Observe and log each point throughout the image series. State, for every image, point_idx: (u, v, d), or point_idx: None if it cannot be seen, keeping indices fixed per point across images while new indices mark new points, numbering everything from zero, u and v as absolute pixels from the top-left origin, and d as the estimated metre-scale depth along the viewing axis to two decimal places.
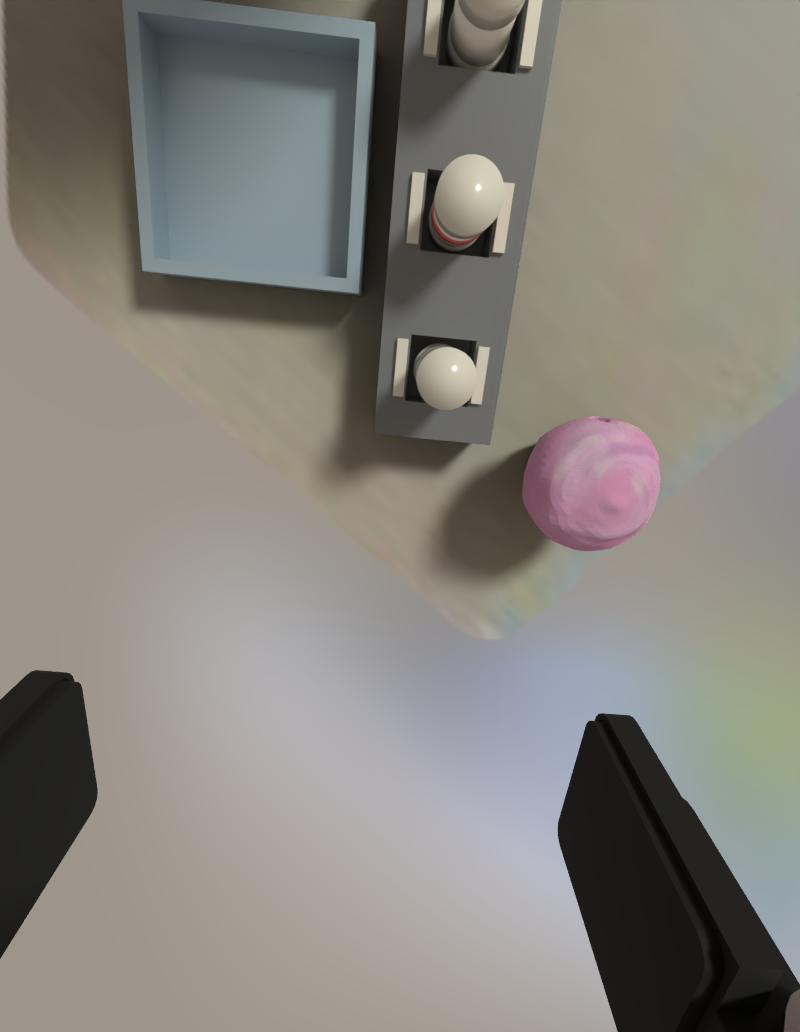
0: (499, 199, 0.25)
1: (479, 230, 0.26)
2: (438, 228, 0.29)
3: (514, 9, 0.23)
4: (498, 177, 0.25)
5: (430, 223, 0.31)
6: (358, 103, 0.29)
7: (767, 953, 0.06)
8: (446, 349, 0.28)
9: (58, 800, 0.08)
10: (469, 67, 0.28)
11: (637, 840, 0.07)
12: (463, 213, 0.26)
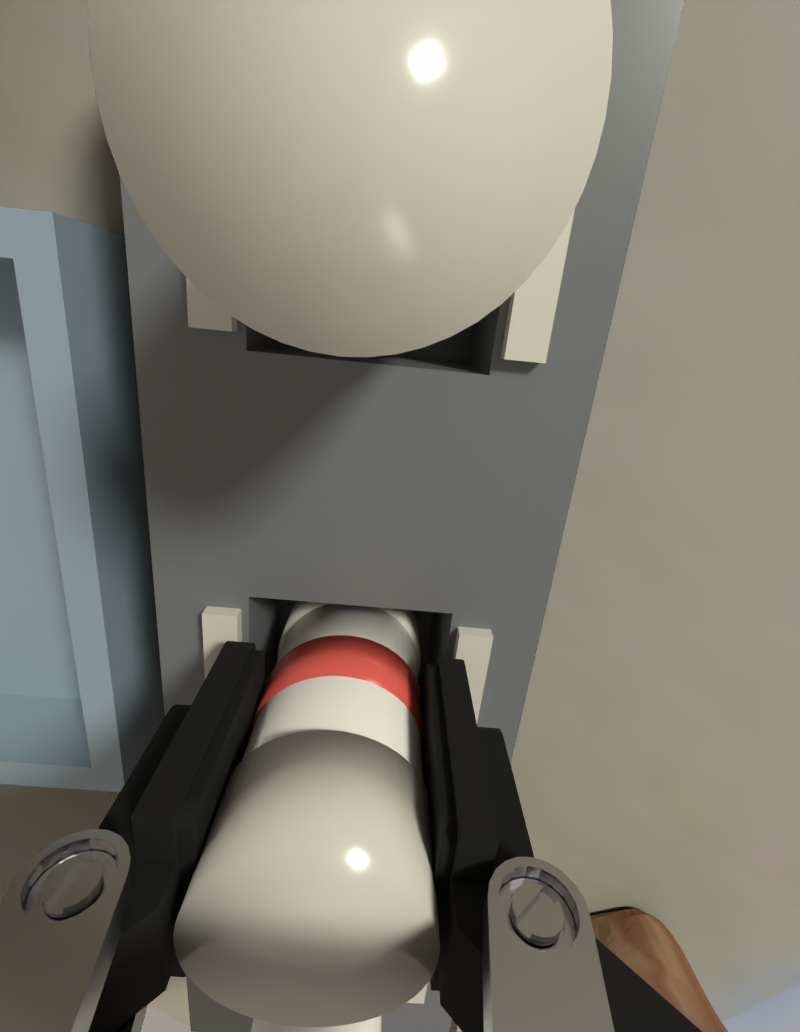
0: (421, 961, 0.07)
1: (354, 1018, 0.07)
2: None
3: None
4: (413, 913, 0.06)
5: None
6: (44, 422, 0.10)
7: (490, 830, 0.07)
8: None
9: None
10: None
11: (432, 755, 0.08)
12: (289, 988, 0.07)
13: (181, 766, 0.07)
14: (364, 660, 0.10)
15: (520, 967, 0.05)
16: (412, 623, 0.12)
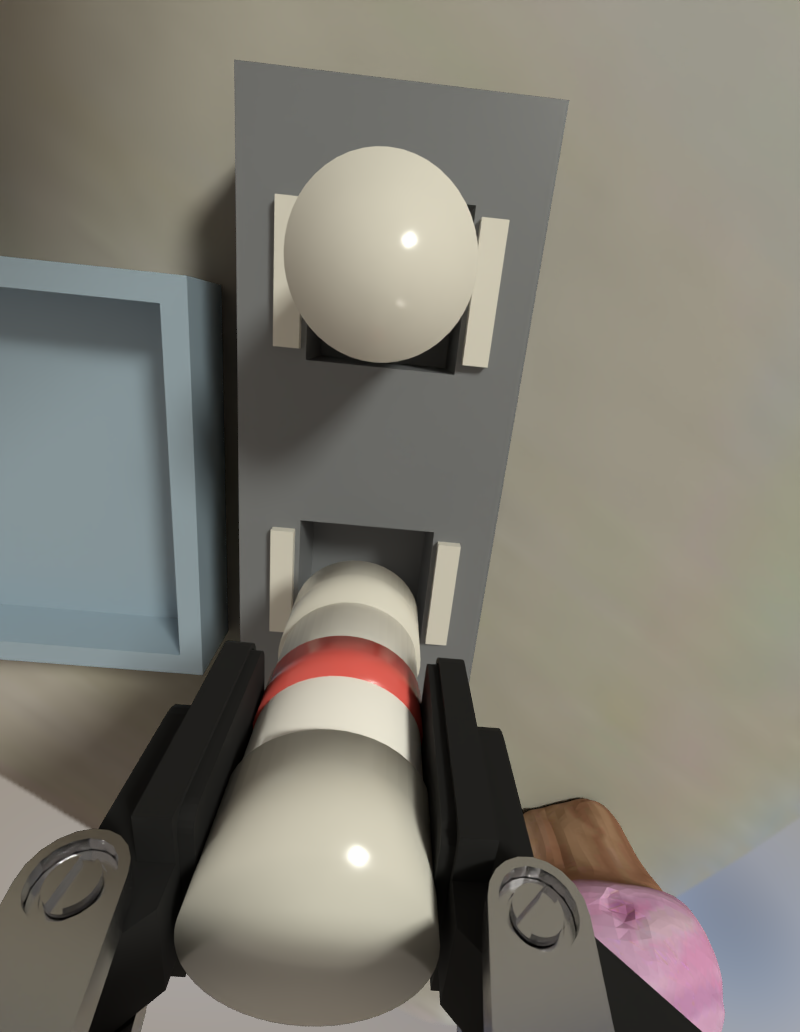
0: (421, 959, 0.07)
1: (354, 1017, 0.07)
2: None
3: None
4: (413, 911, 0.06)
5: None
6: (169, 405, 0.16)
7: (490, 829, 0.07)
8: None
9: None
10: None
11: (432, 755, 0.08)
12: (289, 987, 0.07)
13: (181, 766, 0.07)
14: (364, 661, 0.10)
15: (520, 967, 0.05)
16: (412, 624, 0.12)
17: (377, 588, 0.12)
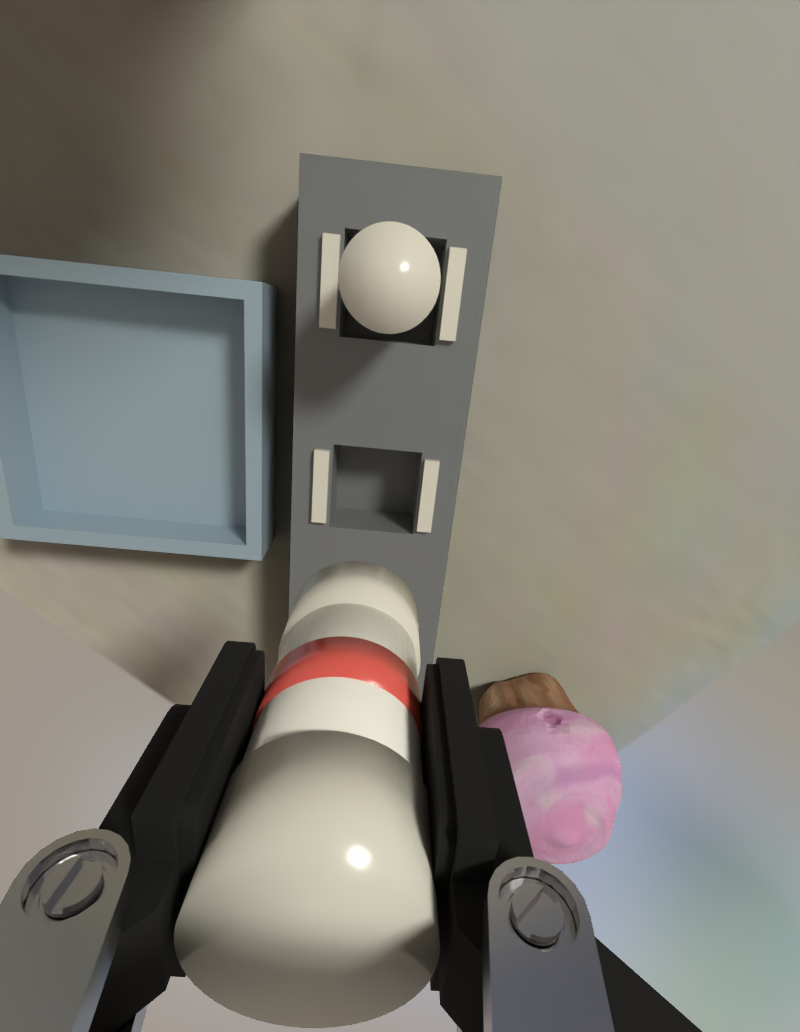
0: (421, 960, 0.07)
1: (354, 1018, 0.07)
2: None
3: None
4: (413, 912, 0.06)
5: None
6: (247, 367, 0.24)
7: (490, 828, 0.07)
8: None
9: None
10: None
11: (432, 755, 0.08)
12: (289, 989, 0.07)
13: (181, 766, 0.07)
14: (364, 661, 0.10)
15: (520, 967, 0.05)
16: (412, 624, 0.12)
17: (377, 589, 0.12)
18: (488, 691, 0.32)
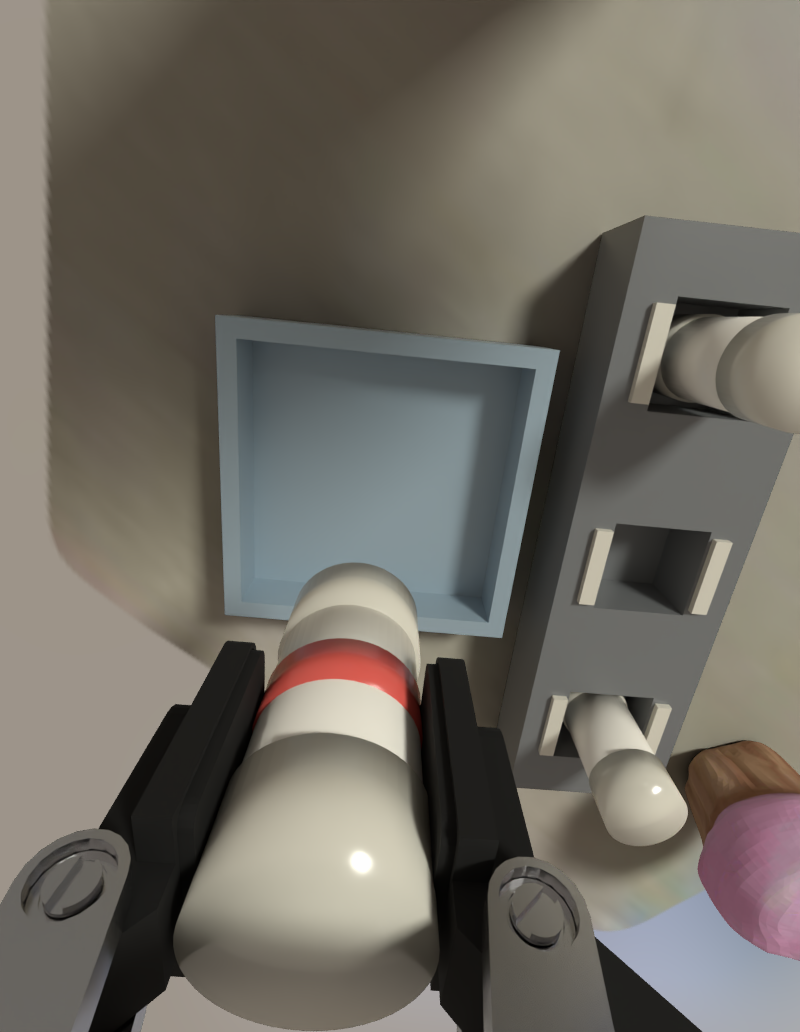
0: (421, 963, 0.07)
1: (354, 1021, 0.07)
2: None
3: None
4: (413, 916, 0.06)
5: None
6: (526, 440, 0.21)
7: (490, 829, 0.07)
8: (651, 789, 0.21)
9: None
10: (680, 400, 0.21)
11: (432, 755, 0.08)
12: (289, 991, 0.07)
13: (181, 766, 0.07)
14: (364, 663, 0.10)
15: (520, 967, 0.05)
16: (412, 626, 0.12)
17: (377, 590, 0.12)
18: (707, 764, 0.30)
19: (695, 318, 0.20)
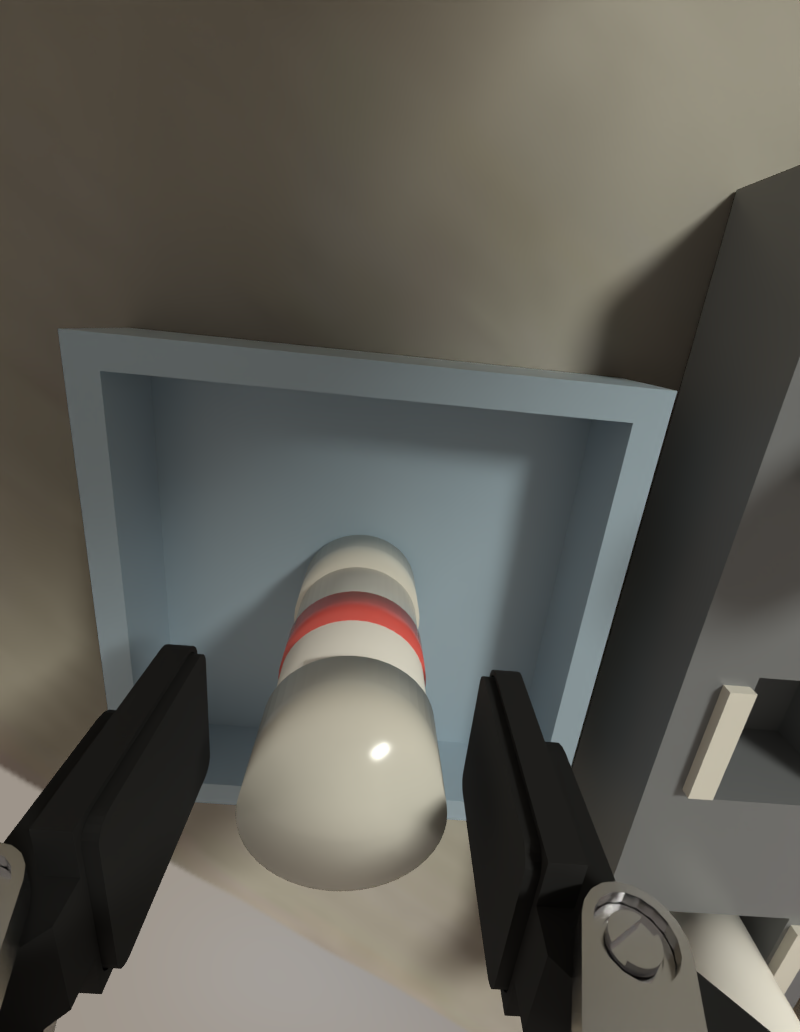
0: (432, 825, 0.08)
1: (377, 882, 0.09)
2: None
3: None
4: (426, 781, 0.08)
5: None
6: (608, 540, 0.13)
7: (577, 853, 0.06)
8: None
9: (189, 759, 0.09)
10: None
11: (500, 772, 0.08)
12: (326, 854, 0.08)
13: (92, 775, 0.07)
14: (375, 610, 0.11)
15: (628, 1002, 0.05)
16: (411, 587, 0.14)
17: (380, 556, 0.14)
18: None
19: None
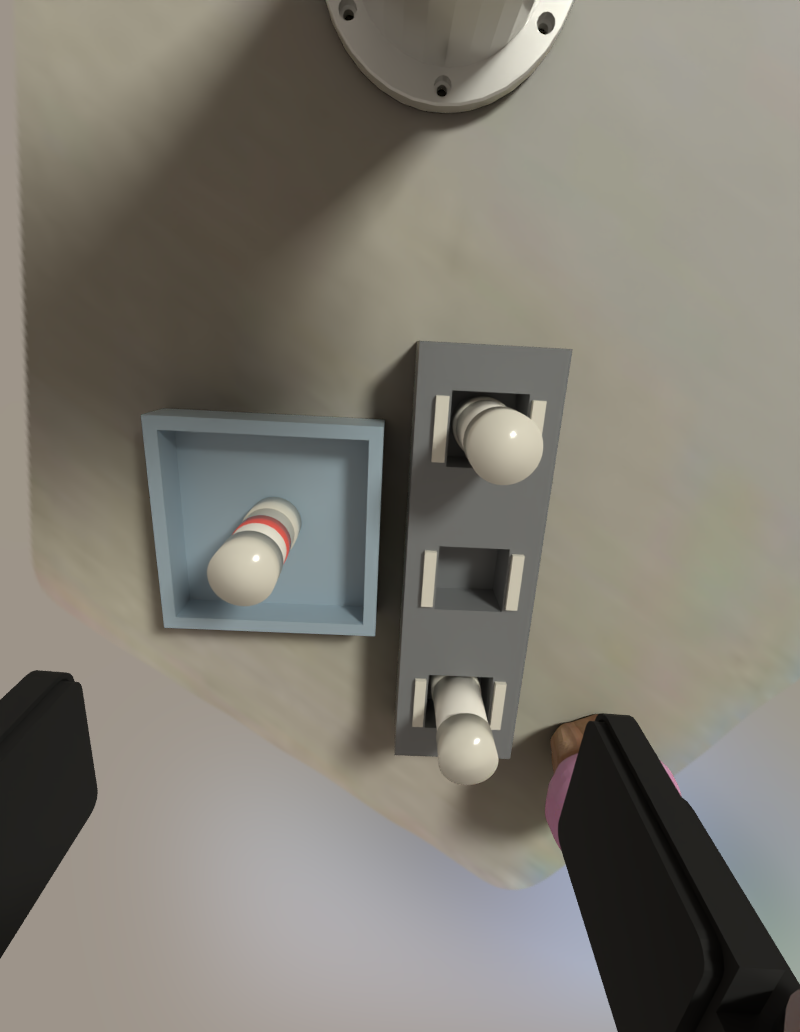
0: (271, 578, 0.26)
1: (257, 602, 0.26)
2: None
3: None
4: (266, 561, 0.25)
5: None
6: (369, 489, 0.30)
7: (767, 953, 0.06)
8: (466, 739, 0.28)
9: (58, 800, 0.08)
10: None
11: (637, 840, 0.07)
12: (238, 590, 0.26)
13: None
14: (265, 520, 0.29)
15: None
16: (292, 517, 0.31)
17: (278, 504, 0.31)
18: (559, 733, 0.37)
19: (475, 401, 0.28)
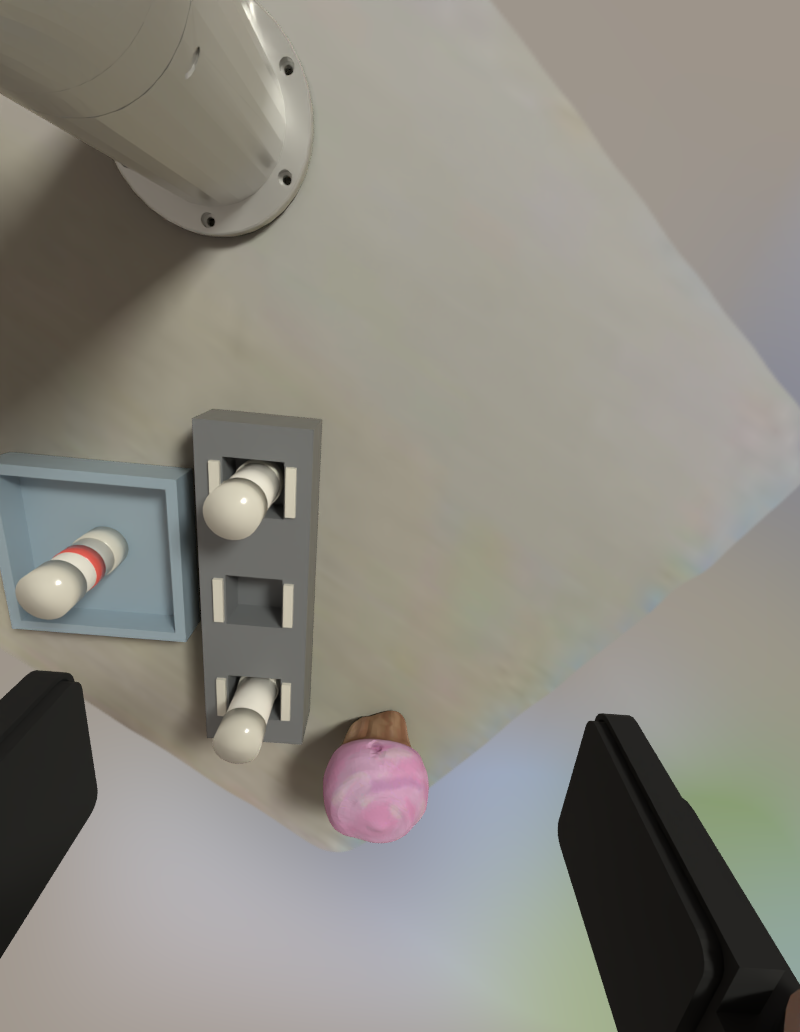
0: (66, 598, 0.33)
1: (58, 617, 0.33)
2: None
3: None
4: (60, 586, 0.33)
5: None
6: (169, 527, 0.37)
7: (767, 953, 0.06)
8: (232, 728, 0.36)
9: (58, 800, 0.08)
10: None
11: (637, 840, 0.07)
12: (42, 608, 0.33)
13: None
14: (79, 549, 0.36)
15: None
16: (112, 544, 0.39)
17: (102, 533, 0.39)
18: (352, 725, 0.45)
19: (248, 463, 0.36)
